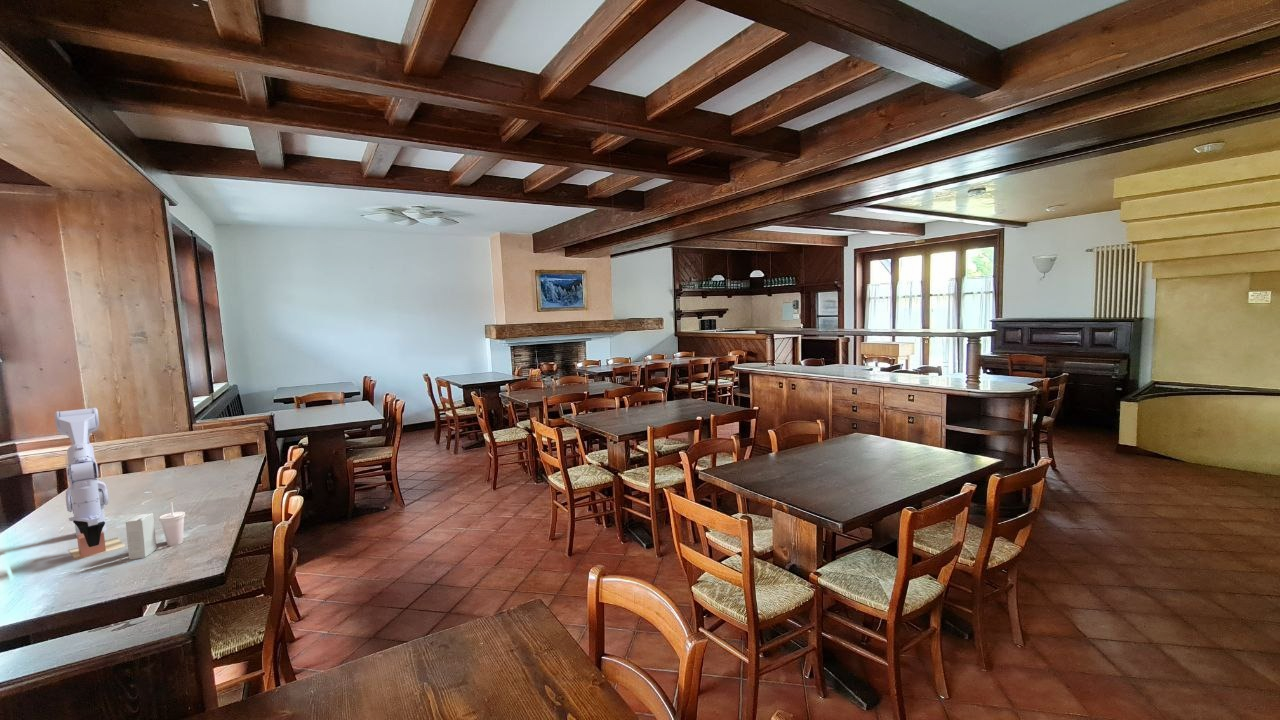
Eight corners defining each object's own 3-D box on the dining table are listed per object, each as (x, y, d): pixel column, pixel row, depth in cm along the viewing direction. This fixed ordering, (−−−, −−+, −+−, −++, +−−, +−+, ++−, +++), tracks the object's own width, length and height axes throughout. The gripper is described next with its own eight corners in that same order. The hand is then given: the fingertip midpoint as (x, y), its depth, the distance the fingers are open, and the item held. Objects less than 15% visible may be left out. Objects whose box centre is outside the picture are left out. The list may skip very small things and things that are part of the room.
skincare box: (140, 551, 164) (136, 514, 163) (158, 549, 165) (154, 512, 164) (128, 560, 158) (123, 521, 157) (146, 557, 159) (141, 519, 158)
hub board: (68, 552, 165) (67, 540, 165) (117, 539, 174) (115, 528, 174) (76, 562, 158) (74, 550, 157) (126, 548, 166) (125, 537, 166)
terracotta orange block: (102, 547, 166) (100, 528, 166) (105, 551, 163) (103, 532, 163) (79, 553, 162) (76, 534, 162) (81, 557, 159) (79, 538, 159)
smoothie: (164, 549, 165) (159, 506, 164) (159, 545, 169) (155, 503, 167) (190, 542, 170) (186, 500, 169) (185, 537, 174) (181, 497, 173)
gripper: (63, 500, 162) (68, 542, 163) (71, 509, 154) (76, 553, 155) (95, 493, 168) (100, 534, 169) (105, 502, 160) (110, 544, 161)
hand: (91, 542), depth 162 cm, fingers open, 7 cm apart
